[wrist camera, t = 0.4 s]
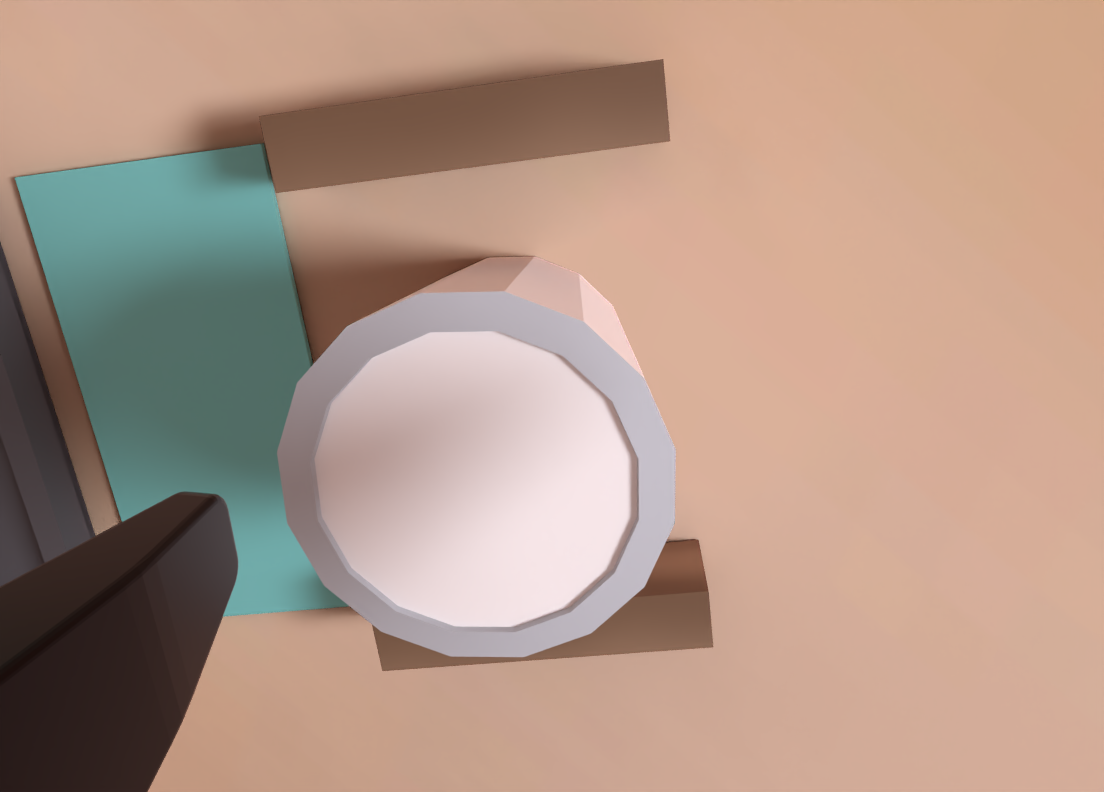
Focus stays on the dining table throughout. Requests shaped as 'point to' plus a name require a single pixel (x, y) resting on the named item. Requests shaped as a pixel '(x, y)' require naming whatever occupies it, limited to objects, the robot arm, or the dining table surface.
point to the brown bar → (485, 139)
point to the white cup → (481, 463)
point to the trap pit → (31, 454)
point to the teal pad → (185, 342)
